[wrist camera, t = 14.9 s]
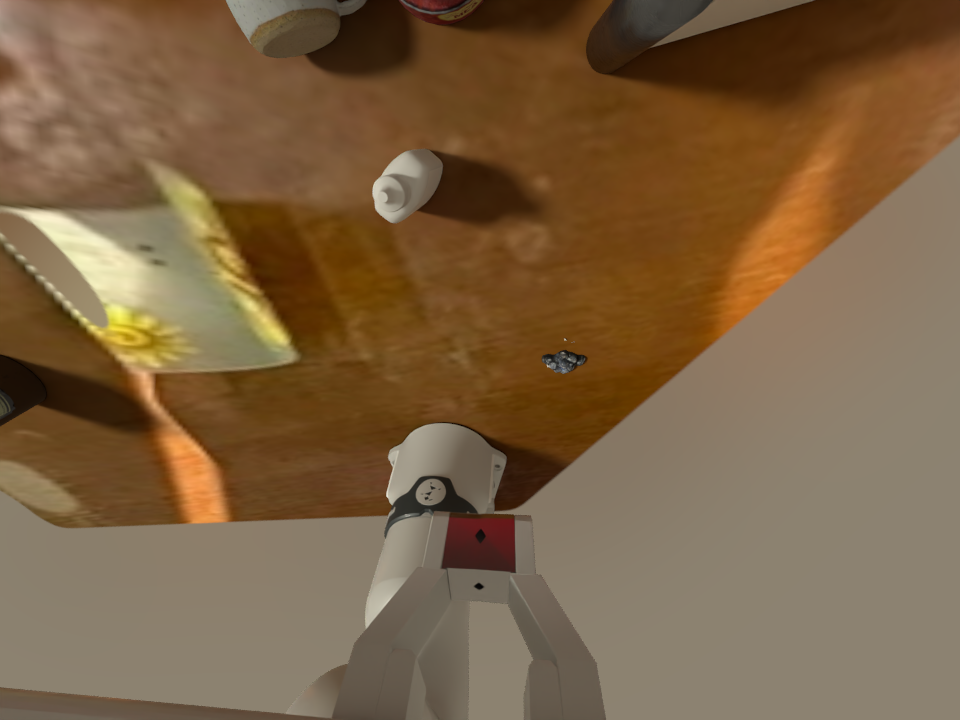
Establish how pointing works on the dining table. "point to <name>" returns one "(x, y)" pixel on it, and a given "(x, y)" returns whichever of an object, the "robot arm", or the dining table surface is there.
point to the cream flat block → (728, 15)
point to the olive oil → (17, 390)
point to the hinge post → (636, 29)
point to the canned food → (441, 9)
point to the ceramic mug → (290, 23)
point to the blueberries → (563, 361)
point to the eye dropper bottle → (407, 184)
